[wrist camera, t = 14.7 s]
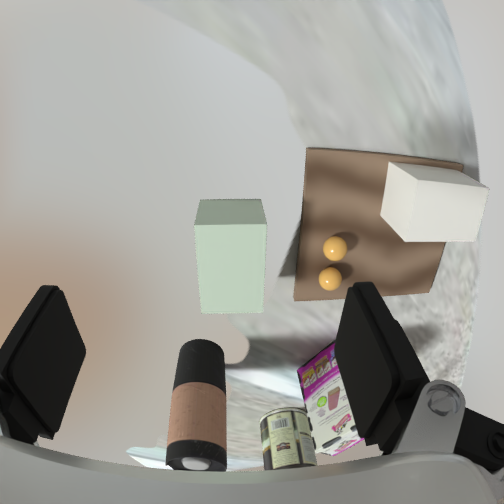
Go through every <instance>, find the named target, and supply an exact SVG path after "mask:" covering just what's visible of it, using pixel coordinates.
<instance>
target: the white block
mask: <svg viewBox="0 0 504 504" xmlns="http://www.w3.org/2000/svg"><path fill="white" fill-rule="evenodd" d="M488 193H489V188H488V187H486V186H485V185H483V184H481V183H479V182H478V181H476V180H474V179H472V178H471V177H469V176H467V175H465V174H463V173H462V172H460V171H458V170H453V169H446V168H439V167H432V166H424V165H416V164H407V163H398V162H389V164H388V171H387V178H386V184H385V190H384V197H383V202H382V208H381V214H380V216H381V217H382V218H383V219H384V220H385V221H386V222H387V223H388V224H389V225H390V226H391V227H392V228H393V230H394V231H395V232H396V233H397V234H398V235H399V236H400V237H401V238H402V239H403V240H404V241H405V242H475V240H476V237H477V234H478V230H479V227H480V223H481V220H482V216H483V213H484V209H485V205H486V201H487V197H488Z"/></svg>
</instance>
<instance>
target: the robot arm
mask: <svg viewBox="0 0 504 504" xmlns="http://www.w3.org/2000/svg"><path fill="white" fill-rule="evenodd" d="M85 355H86V349H85V345H84V343H83V340H82V338H81V336H80V333H79V331H78V329H77V326H76V324H75V321H74V319H73V316H72V313H71V311H70V308H69V306H68V303H67V300H66V298H65V295H64V293H63V291H61V290H60V289H59V287H58V286H54V285H53V286H52V285H51V286H50V285H43V286H41V287H40V288H39V290H38V291H37V292H36V294H35V295H34V297H33V298H32V300H31V301H30V303H29V304H28V306H27V307H26V309H25V310H24V312H23V313H22V315H21V316H20V318H19V320H18V321H17V323H16V324H15V326H14V327H13V329H12V330H11V332H10V334H9V335H8V337H7V339H6V340H5V342H4V344H3V345H2V347H1V349H0V504H504V424H501V423H499V422H497V421H495V420H492V419H490V418H488V417H485V416H483V415H481V414H479V413H477V412H475V411H472V410H470V409H468V408H466V407H465V398H464V395H463V393H462V392H461V390H460V389H459V388H458V387H457V386H456V385H454V384H452V383H451V382H449V381H445V380H434V381H431V382H430V380H429V378H428V376H427V375H426V373H425V371H424V369H423V367H422V365H421V363H420V361H419V359H418V357H417V355H416V353H415V351H414V349H413V348H412V346H411V344H410V342H409V340H408V338H407V336H406V335H405V333H404V331H403V329H402V327H401V326H400V324H399V323H398V321H397V320H395V319H394V318H393V316H392V314H391V313H390V311H389V309H388V307H387V306H386V304H385V302H384V300H383V299H382V297H381V295H380V293H379V292H378V290H377V288H376V287H375V285H374V283H373V282H371V281H368V282H355V283H354V284H353V287H349V288H348V290H347V294H346V299H345V303H344V308H343V312H342V316H341V321H340V325H339V329H338V333H337V337H336V341H335V345H334V355H335V359H336V362H337V365H338V368H339V372H340V375H341V378H342V381H343V385H344V388H345V391H346V395H347V398H348V401H349V405H350V408H351V411H352V415H353V418H354V422H355V425H356V429H357V432H358V435H359V437H360V438H364V439H365V442H366V446H369V445H373V444H378V446H379V449H380V450H381V451H382V452H381V454H380V455H379V456H377V457H371V458H365V459H359V460H354V461H348V462H342V463H334V464H327V465H319V466H311V467H302V468H292V469H280V470H266V471H244V472H243V471H242V472H241V471H240V472H210V471H184V470H169V469H157V468H147V467H138V466H130V465H123V464H117V463H110V462H104V461H99V460H93V459H88V458H83V457H79V456H74V455H70V454H65V453H61V452H57V451H53V450H49V449H46V448H41V447H39V444H38V442H37V438H38V435H39V436H40V437H43V438H47V439H51V440H53V437H54V434H55V433H56V432H58V430H59V428H60V425H61V422H62V419H63V416H64V413H65V410H66V407H67V404H68V401H69V398H70V396H71V393H72V390H73V387H74V384H75V382H76V379H77V376H78V374H79V371H80V368H81V366H82V363H83V361H84V358H85Z"/></svg>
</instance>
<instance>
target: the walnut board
mask: <svg viewBox="0 0 504 504" xmlns="http://www.w3.org/2000/svg"><path fill="white" fill-rule="evenodd" d="M389 162H398V163H407V164H416V165H424V166H432V167H439V168H446V169H453V170H458V171H460V172H462V170H463V165H461V164H459V163H453V162H447V161H440V160H434V159H426V158H419V157H411V156H403V155H395V154H385V153H375V152H364V151H352V150H339V149H323V148H306V163H305V176H304V190H303V202H302V214H301V225H300V236H299V247H298V257H297V267H296V277H295V286H294V295H293V298H294V301H313V300H333V299H346V294H347V290H348V288H349V287H353V284H354V283H355V282H368V281H371V282H373V283H374V285H375V287H376V288H377V290H378V292H379V293H380V295H381V296H395V295H407V294H419V293H429V291H430V288H431V285H432V283H433V280H434V277H435V274H436V271H437V268H438V265H439V261H440V258H441V255H442V252H443V248H444V245H445V242H405V241H404V240H403V239H402V238H401V237H400V236H399V235H398V234H397V233H396V232H395V231H394V230H393V228H392V227H391V226H390V225H389V224H388V223H387V222H386V221H385V220H384V219H383V218H382V217H381V216H380V214H381V208H382V202H383V197H384V190H385V184H386V178H387V171H388V164H389ZM333 236H338V237H341V238H342V239H343V240H344V241H345V242H346V244H347V253H346V255H345V257H344V258H343V259H341V260H339V261H331V260H329V259H328V258H327V257H326V256H325V255H324V252H323V245H324V243H325V241H326V240H327V239H328V238H330V237H333ZM328 267H333V268H336V269H337V270H338V271H339V272H340V273H341V276H342V282H341V284H340V286H339V287H338V288H337V289H335V290H332V291H328V290H325V289H323V288H322V287H321V285H320V284H319V275H320V273H321V271H322V270H323V269H325V268H328Z"/></svg>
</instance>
